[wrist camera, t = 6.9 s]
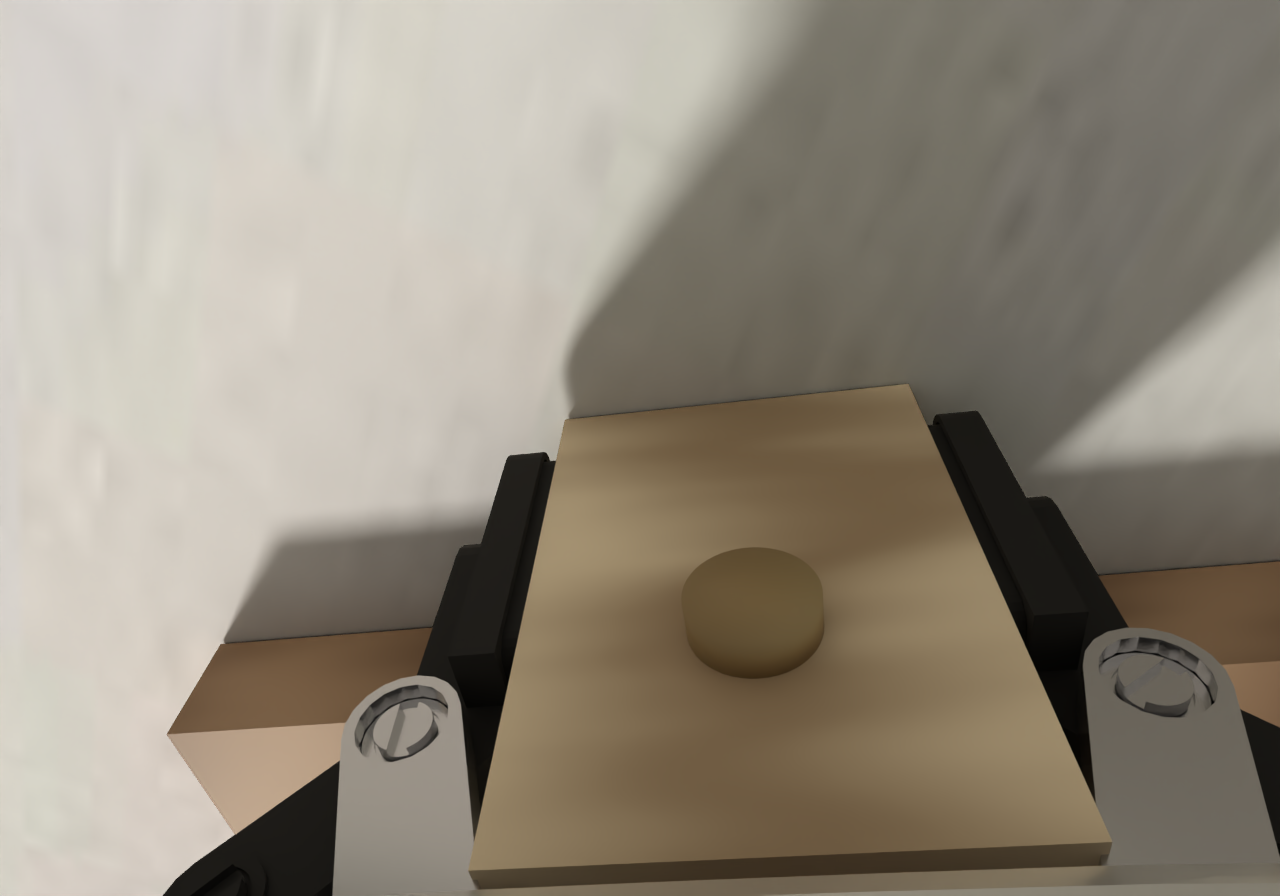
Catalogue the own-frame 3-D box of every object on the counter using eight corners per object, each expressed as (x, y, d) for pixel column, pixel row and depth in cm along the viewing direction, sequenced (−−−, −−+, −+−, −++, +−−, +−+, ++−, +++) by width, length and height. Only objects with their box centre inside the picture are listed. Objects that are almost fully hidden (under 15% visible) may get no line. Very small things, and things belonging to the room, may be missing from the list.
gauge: (909, 355, 12) (1121, 805, 6) (894, 887, 19) (986, 1323, 14) (558, 393, 13) (454, 838, 7) (673, 896, 20) (669, 1318, 14)
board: (1693, 529, 13) (1848, 629, 11) (1470, 863, 18) (1554, 970, 16) (221, 643, 16) (163, 739, 14) (373, 908, 21) (345, 1003, 19)
